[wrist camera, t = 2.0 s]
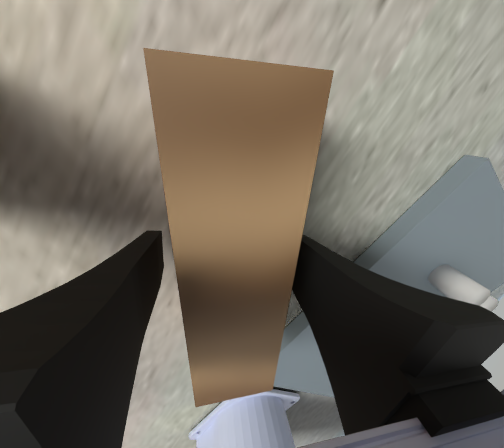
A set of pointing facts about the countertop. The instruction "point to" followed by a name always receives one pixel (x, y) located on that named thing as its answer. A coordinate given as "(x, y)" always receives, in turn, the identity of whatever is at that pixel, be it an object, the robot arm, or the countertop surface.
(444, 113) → the countertop surface
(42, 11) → the countertop surface
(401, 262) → the peg rack
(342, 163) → the countertop surface
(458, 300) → the robot arm
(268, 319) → the wooden block
